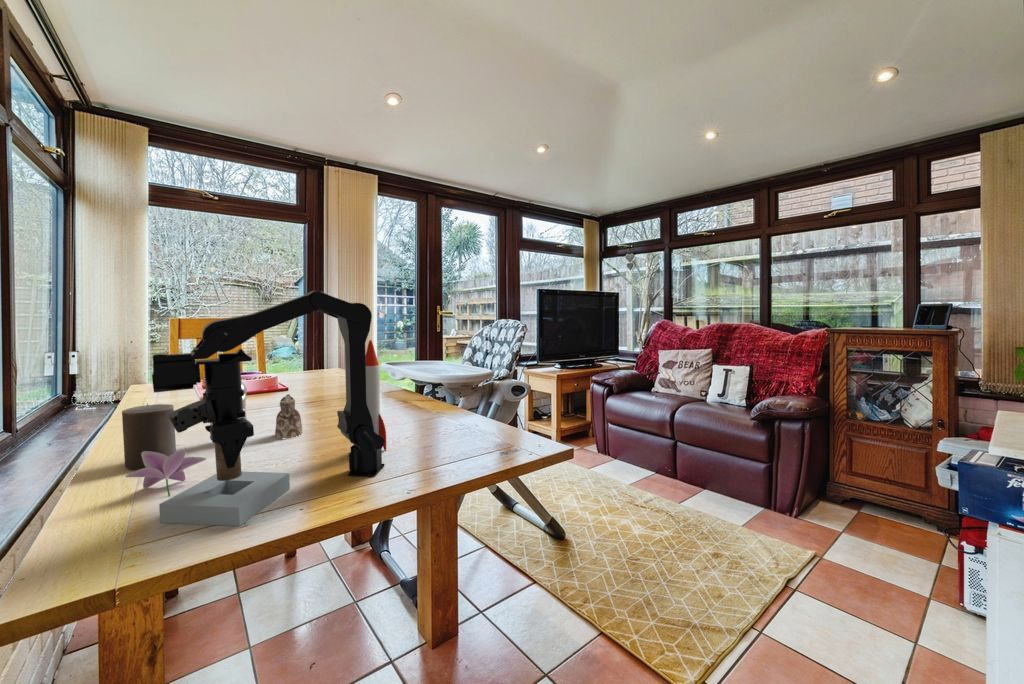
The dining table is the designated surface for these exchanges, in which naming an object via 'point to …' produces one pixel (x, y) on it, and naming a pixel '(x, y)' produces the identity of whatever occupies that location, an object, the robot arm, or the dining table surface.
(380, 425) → the toy rocket
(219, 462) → the walnut peg
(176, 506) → the socket block
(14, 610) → the dining table surface
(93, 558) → the dining table surface
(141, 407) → the pillar candle
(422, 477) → the dining table surface
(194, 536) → the dining table surface
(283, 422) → the figurine
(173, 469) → the lily
